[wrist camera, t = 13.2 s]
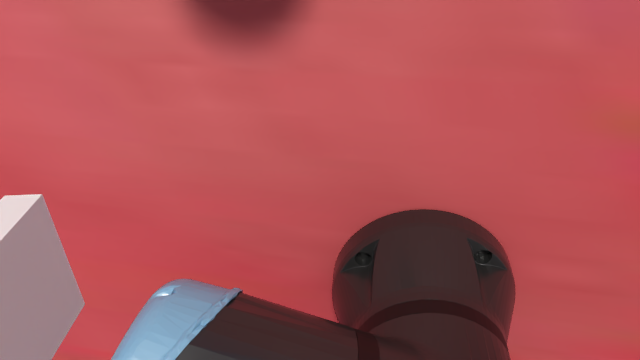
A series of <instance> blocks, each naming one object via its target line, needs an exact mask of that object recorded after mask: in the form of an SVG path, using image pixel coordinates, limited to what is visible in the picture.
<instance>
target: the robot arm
mask: <svg viewBox="0 0 640 360" xmlns="http://www.w3.org/2000/svg"><path fill="white" fill-rule="evenodd" d="M242 292H243V290H241V289H239V288H233V289H227V288H223V287H219V286H215V285H211V284H207V283H203V282H199V281H195V280H192V279H177V280H173V281H171V282H168V283H167V284H165V285H163V286H162V287H161V288H159V289H158V290H157V291H156V292H155V293H154V294H153V295H152V296H151V297H150V299H149V300H148V301H147V303H146V304H145V305H144V307H143V308H142V309H141V311H140V312H139V314H138V315H137V317H136V318H135V320H134V321H133V323H132V324H131V326H130V328H129V329H128V331H127V333H126V334H125V336H124V338H123V339H122V341H121V343H120V344H119V346H118V348H117V350H116V351H115V353H114V355H113V357H112V359H111V360H510V356H509V352H508V348H507V339H508V334H509V329H510V324H511V319H512V314H513V308H514V303H515V282H514V277H513V274H512V270H511V267H510V263H509V260H508V257H507V255H506V253H505V251H504V249H503V247H502V246H501V244H500V243H499V242H498V240H497V239H496V238H495V237H494V236H493V235H492V234H491V233H490V232H489V231H487V230H486V229H485V228H483V227H482V226H481V225H479V224H477V223H476V222H474V221H472V220H470V219H468V218H465V217H463V216H460V215H457V214H453V213H449V212H444V211H438V210H409V211H403V212H398V213H394V214H390V215H387V216H384V217H382V218H379V219H377V220H375V221H373V222H371V223H369V224H368V225H366V226H364V227H363V228H362V229H360V230H359V231H358V232H356V233H355V234H354V235H353V236H352V237H351V238H350V239H349V240H348V242H347V243H346V244H345V245H344V247H343V248H342V250H341V252H340V253H339V256H338V258H337V261H336V264H335V268H334V274H333V285H332V299H333V306H334V310H335V313H336V315H337V318H338V321H339V323H336V322H333V321H329V320H326V319H323V318H320V317H317V316H314V315H310V314H307V313H304V312H301V311H298V310H295V309H291V308H288V307H285V306H282V305H279V304H275V303H272V302H269V301H266V300H263V299H260V298H256V297H253V296H250V295H247V294H244V293H242ZM84 305H85V303H84V300H83V297H82V295H81V292H80V290H79V287H78V285H77V282H76V280H75V277H74V274H73V272H72V269H71V267H70V264H69V262H68V259H67V257H66V254H65V251H64V249H63V246H62V244H61V241H60V239H59V236H58V233H57V231H56V228H55V226H54V223H53V221H52V218H51V216H50V213H49V210H48V208H47V205H46V203H45V200H44V198H43V195H42V194H36V195H11V196H4V197H3V198H2V199H1V200H0V360H51V359H52V358H53V356H54V355H55V353H56V351H57V350H58V348H59V346H60V345H61V343H62V341H63V340H64V338H65V336H66V335H67V333H68V331H69V330H70V328H71V326H72V325H73V323H74V321H75V320H76V318H77V316H78V315H79V313H80V311H81V310H82V308H83V306H84Z"/></svg>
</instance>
